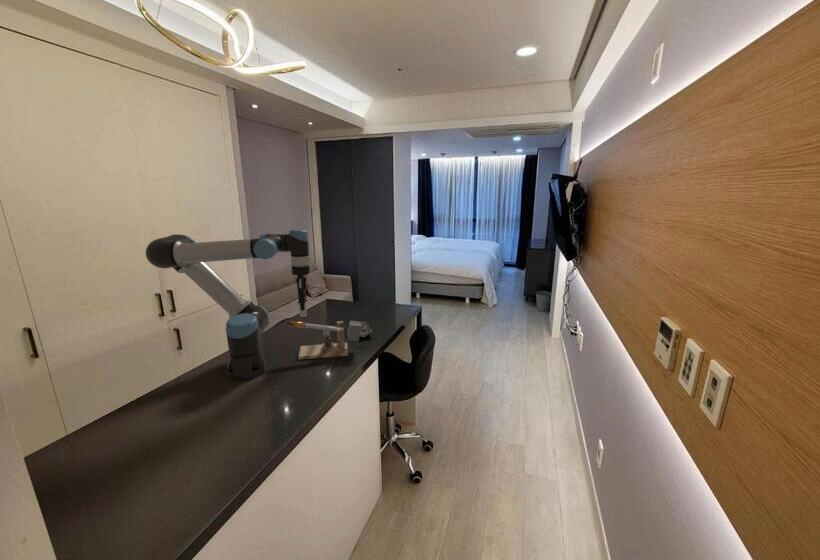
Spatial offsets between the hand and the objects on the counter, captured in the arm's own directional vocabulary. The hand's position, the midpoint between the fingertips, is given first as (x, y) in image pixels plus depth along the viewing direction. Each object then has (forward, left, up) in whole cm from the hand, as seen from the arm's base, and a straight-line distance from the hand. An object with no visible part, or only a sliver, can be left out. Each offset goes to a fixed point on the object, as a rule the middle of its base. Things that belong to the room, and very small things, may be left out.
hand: (303, 316), depth 155 cm
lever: (+9, 0, -10) cm, 13 cm away
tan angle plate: (+8, 0, -19) cm, 20 cm away
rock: (+27, +17, -19) cm, 38 cm away
